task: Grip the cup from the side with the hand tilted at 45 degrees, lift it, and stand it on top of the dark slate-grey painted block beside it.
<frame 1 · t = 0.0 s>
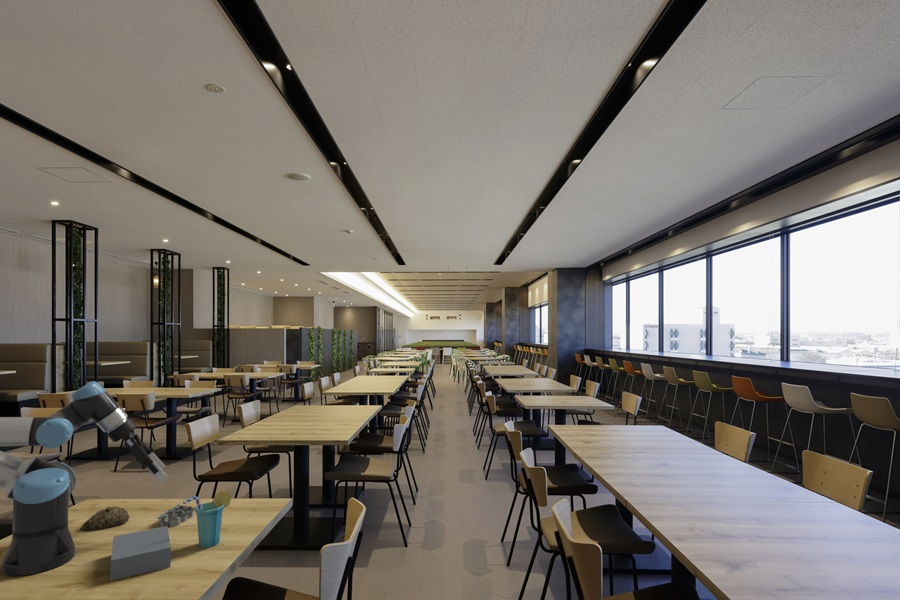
hand: (162, 474, 161), 15 cm above the table, tool tilted 35°, fingers open, 13 cm apart
slate block: (140, 560, 134), on the table
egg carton: (176, 521, 162), on the table
cup: (206, 545, 144), on the table
bread roll: (107, 523, 162), on the table
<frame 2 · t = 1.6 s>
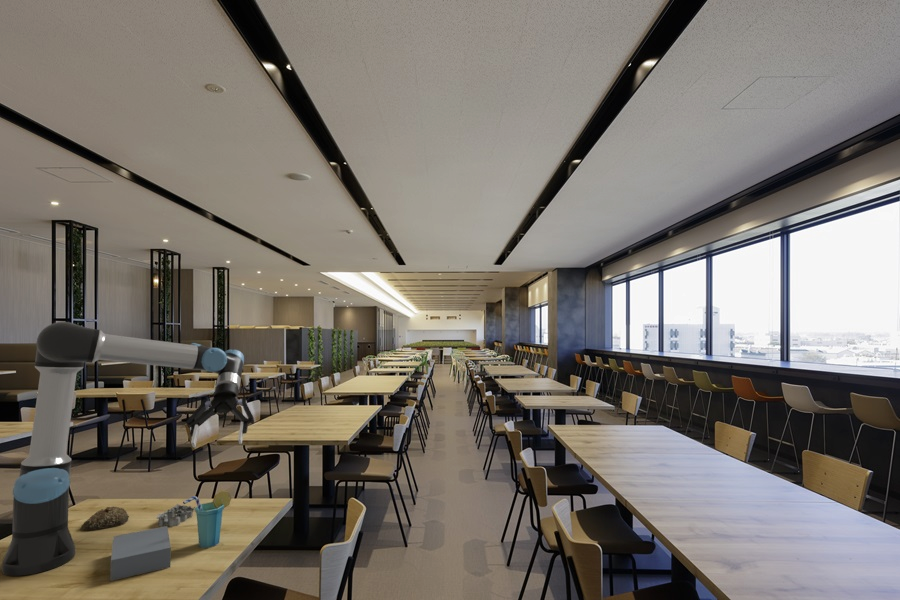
hand: (216, 443, 156), 26 cm above the table, tool tilted 45°, fingers open, 13 cm apart
nothing on the table moved.
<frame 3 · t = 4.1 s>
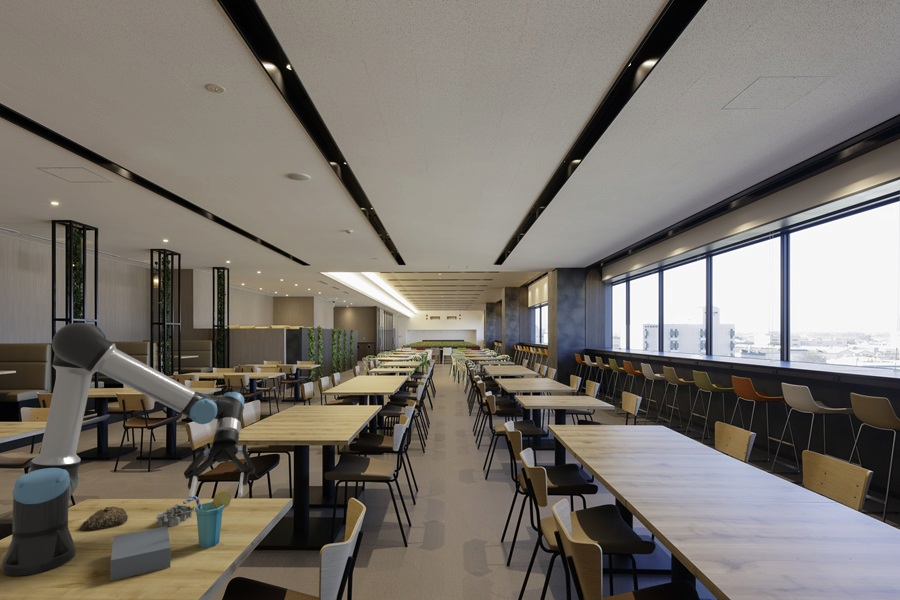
hand: (215, 496, 149), 12 cm above the table, tool tilted 45°, fingers open, 13 cm apart
nothing on the table moved.
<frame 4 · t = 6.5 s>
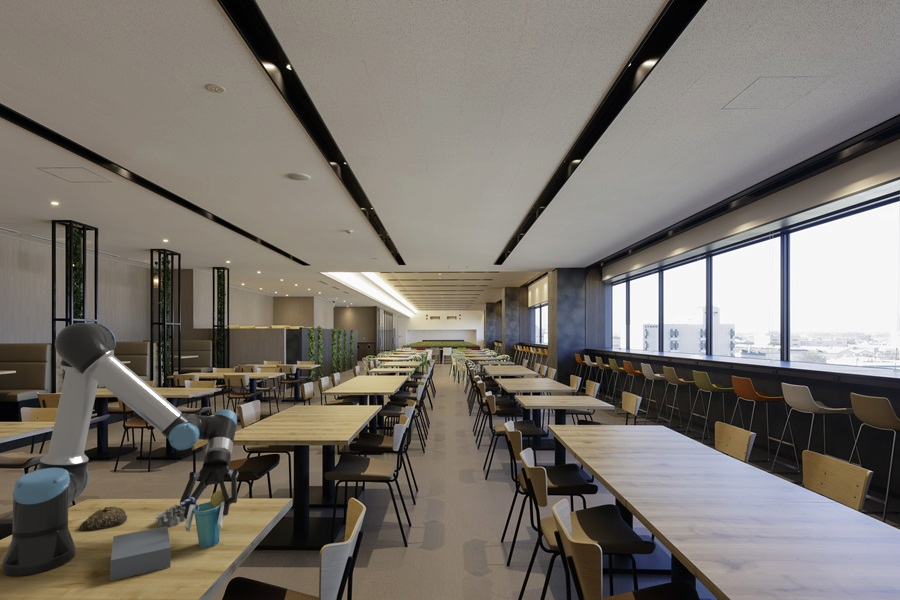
hand: (203, 527, 141), 6 cm above the table, tool tilted 45°, fingers closed on cup, 8 cm apart
cup: (206, 545, 144), on the table, touching gripper
everything else where it was.
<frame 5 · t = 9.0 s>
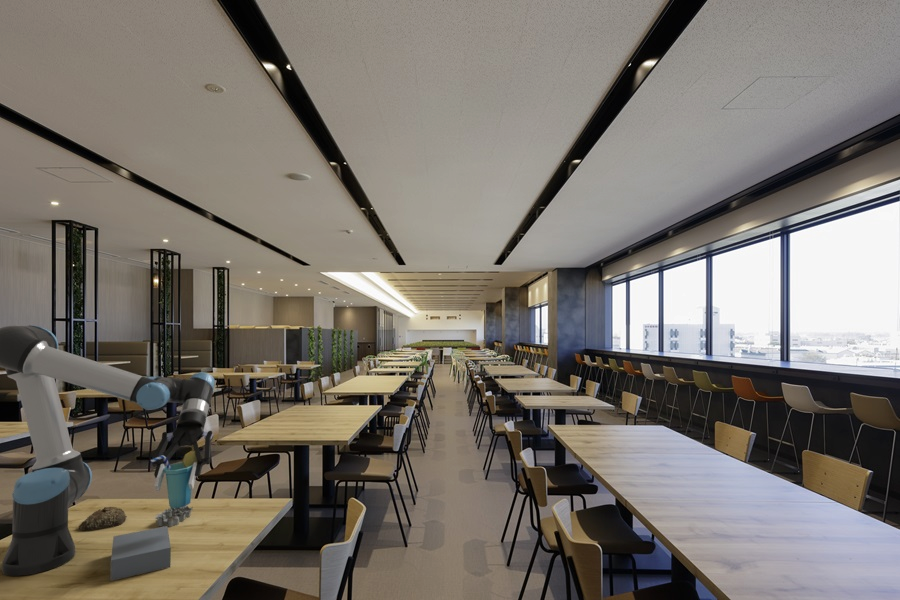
hand: (174, 487, 137), 19 cm above the table, tool tilted 45°, fingers closed on cup, 8 cm apart
cup: (176, 506, 140), point 13 cm above the table, touching gripper
everything else where it was.
when the fingers open (13 cm above the table, at t = 11.5 s): cup drops 1 cm, resting on slate block.
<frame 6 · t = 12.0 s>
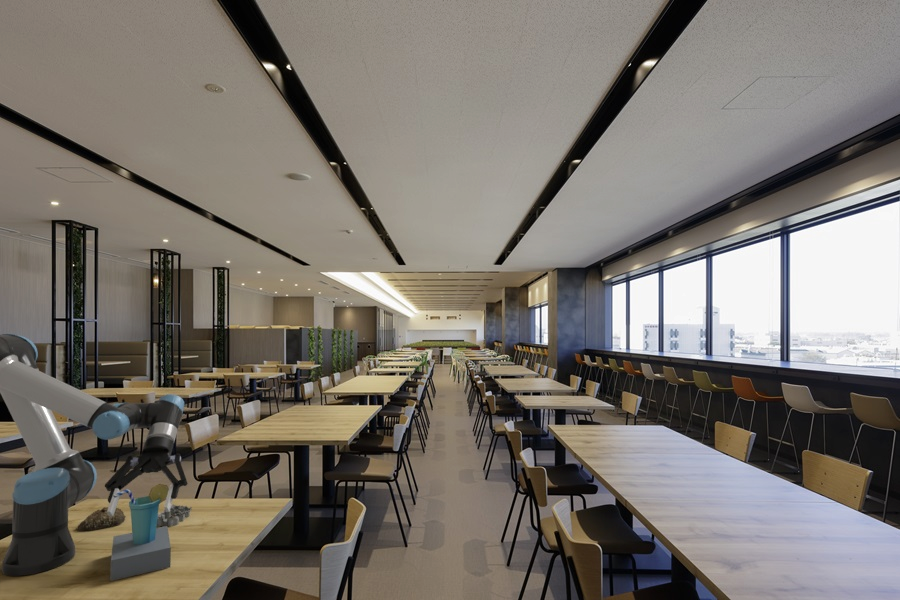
hand: (138, 512, 133), 14 cm above the table, tool tilted 45°, fingers open, 13 cm apart
cup: (140, 542, 135), point 5 cm above the table, touching slate block
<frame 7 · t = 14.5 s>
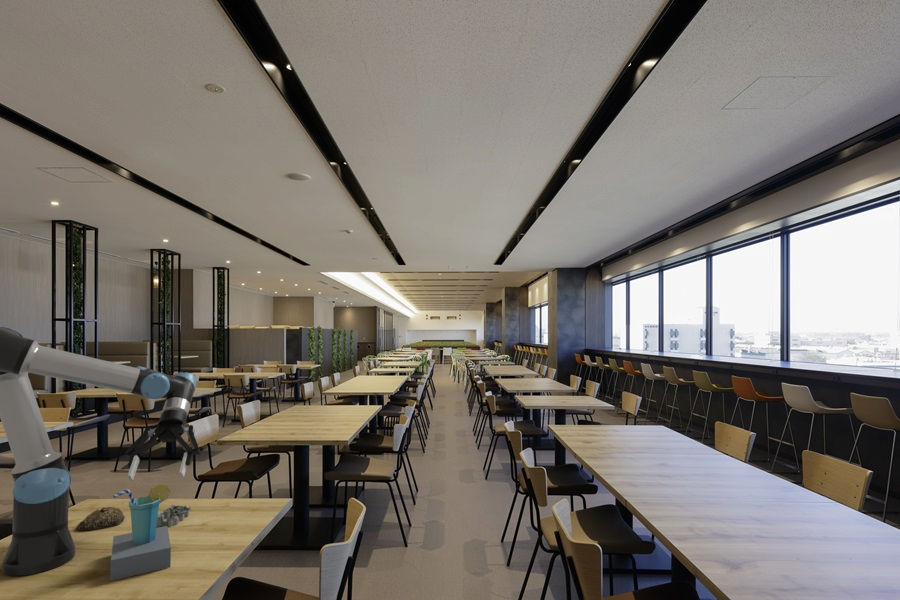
hand: (156, 476, 145), 19 cm above the table, tool tilted 45°, fingers open, 13 cm apart
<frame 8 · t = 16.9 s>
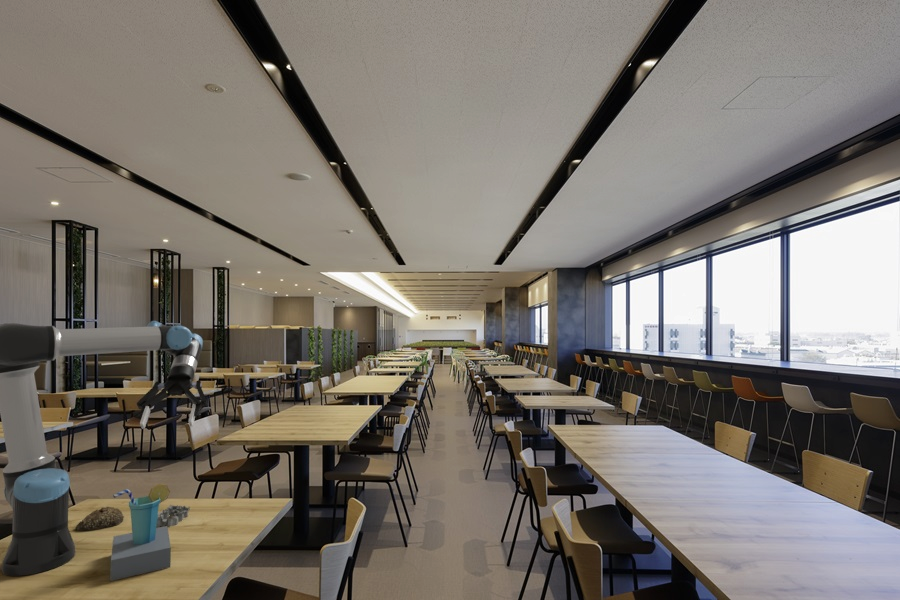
hand: (166, 425, 154), 33 cm above the table, tool tilted 45°, fingers open, 13 cm apart
at the end: cup inside the target area on the slate block (0.2 cm from its centre), point 4.8 cm above the slate block's base; cup tilted 0°; the gripper is holding nothing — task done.
